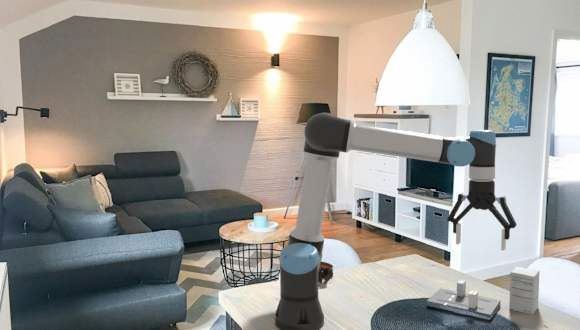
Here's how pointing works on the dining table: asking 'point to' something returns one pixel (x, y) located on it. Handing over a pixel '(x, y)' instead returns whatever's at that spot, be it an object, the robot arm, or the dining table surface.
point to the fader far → (461, 288)
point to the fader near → (473, 299)
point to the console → (465, 302)
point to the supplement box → (524, 290)
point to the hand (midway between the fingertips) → (480, 246)
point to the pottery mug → (325, 272)
